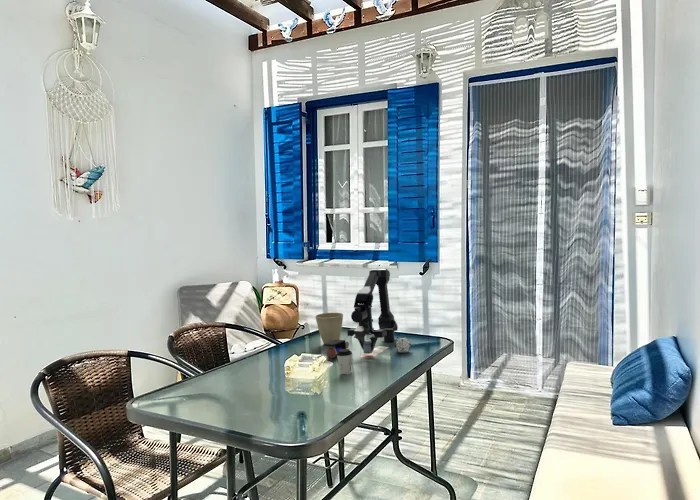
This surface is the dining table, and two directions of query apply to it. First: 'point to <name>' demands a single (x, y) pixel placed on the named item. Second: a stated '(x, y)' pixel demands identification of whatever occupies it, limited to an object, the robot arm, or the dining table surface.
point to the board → (374, 352)
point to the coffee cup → (344, 360)
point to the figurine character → (338, 345)
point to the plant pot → (329, 326)
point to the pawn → (367, 347)
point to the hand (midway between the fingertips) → (368, 350)
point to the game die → (402, 345)
